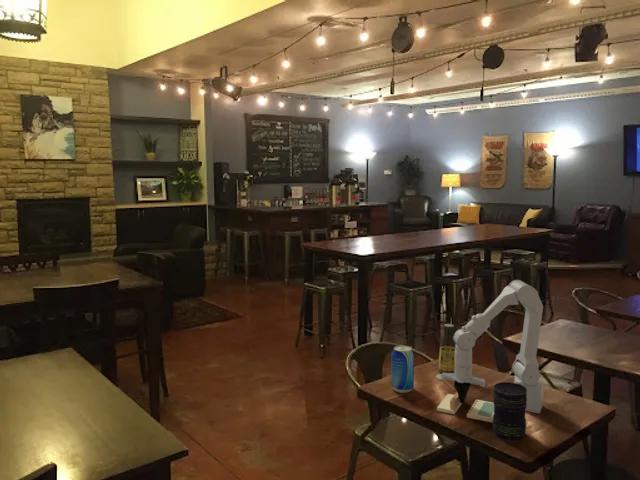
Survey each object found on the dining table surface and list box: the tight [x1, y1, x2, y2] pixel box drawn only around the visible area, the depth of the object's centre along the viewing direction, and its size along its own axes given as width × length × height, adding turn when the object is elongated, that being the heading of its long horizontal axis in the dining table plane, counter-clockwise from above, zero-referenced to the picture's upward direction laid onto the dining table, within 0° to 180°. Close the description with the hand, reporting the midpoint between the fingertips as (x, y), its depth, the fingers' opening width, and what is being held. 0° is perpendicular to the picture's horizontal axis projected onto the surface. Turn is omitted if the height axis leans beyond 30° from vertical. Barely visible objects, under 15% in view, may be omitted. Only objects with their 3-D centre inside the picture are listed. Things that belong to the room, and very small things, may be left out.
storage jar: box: [492, 381, 527, 443], centre depth 174 cm, size 10×10×15 cm
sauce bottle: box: [438, 323, 456, 374], centre depth 225 cm, size 6×6×20 cm
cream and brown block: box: [436, 391, 462, 415], centre depth 195 cm, size 6×13×4 cm, turn 151°
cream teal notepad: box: [466, 399, 494, 424], centre depth 190 cm, size 9×13×1 cm
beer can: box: [390, 345, 415, 394], centre depth 210 cm, size 8×8×16 cm
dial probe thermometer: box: [435, 373, 455, 391], centre depth 216 cm, size 5×1×15 cm
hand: (462, 402), depth 193 cm, fingers closed
